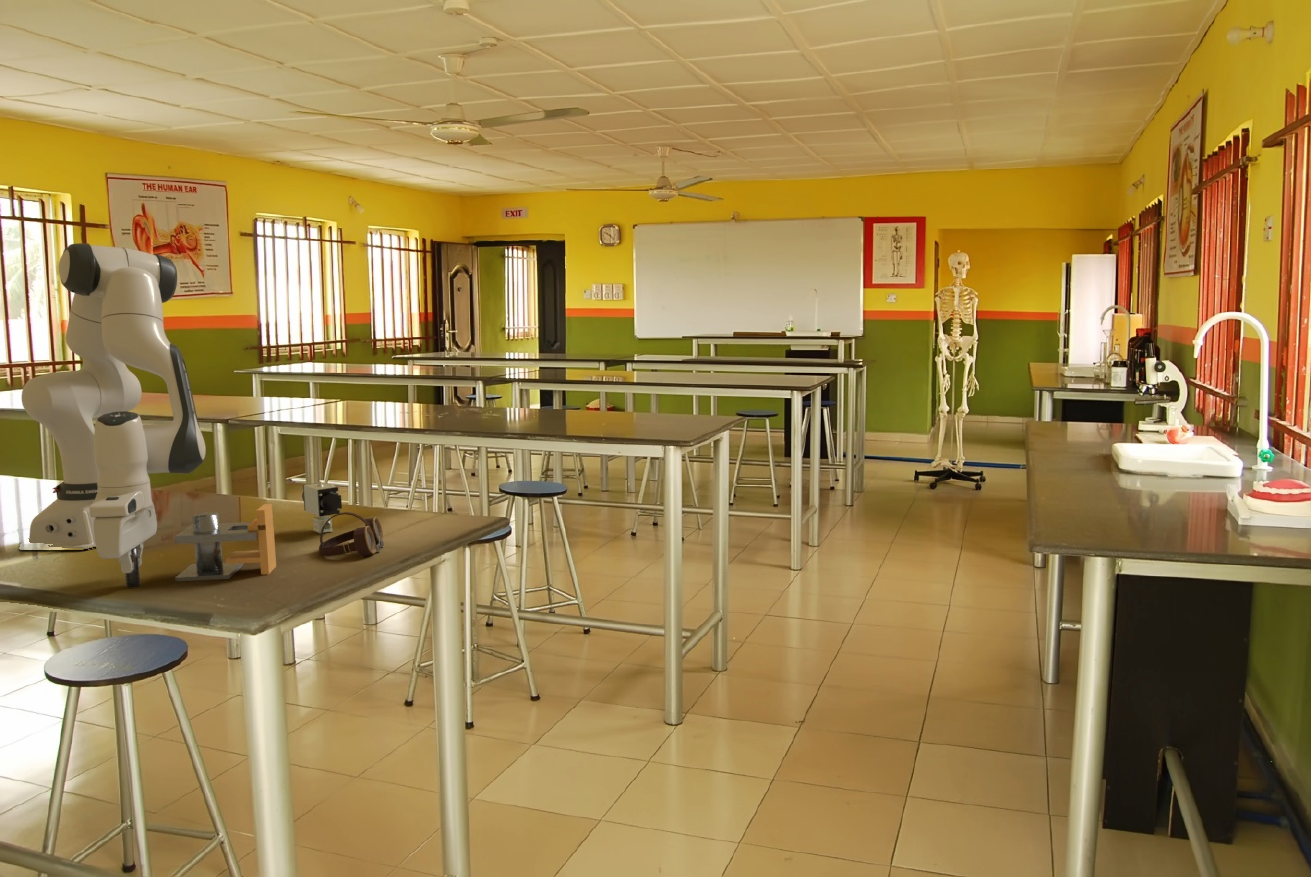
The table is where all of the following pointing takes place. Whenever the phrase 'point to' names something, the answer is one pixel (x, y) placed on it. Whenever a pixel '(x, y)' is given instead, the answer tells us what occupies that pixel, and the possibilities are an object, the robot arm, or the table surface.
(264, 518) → the bracket
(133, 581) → the pin
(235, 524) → the double plate spool
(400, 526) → the table surface
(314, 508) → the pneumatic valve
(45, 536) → the robot arm
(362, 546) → the goggles
